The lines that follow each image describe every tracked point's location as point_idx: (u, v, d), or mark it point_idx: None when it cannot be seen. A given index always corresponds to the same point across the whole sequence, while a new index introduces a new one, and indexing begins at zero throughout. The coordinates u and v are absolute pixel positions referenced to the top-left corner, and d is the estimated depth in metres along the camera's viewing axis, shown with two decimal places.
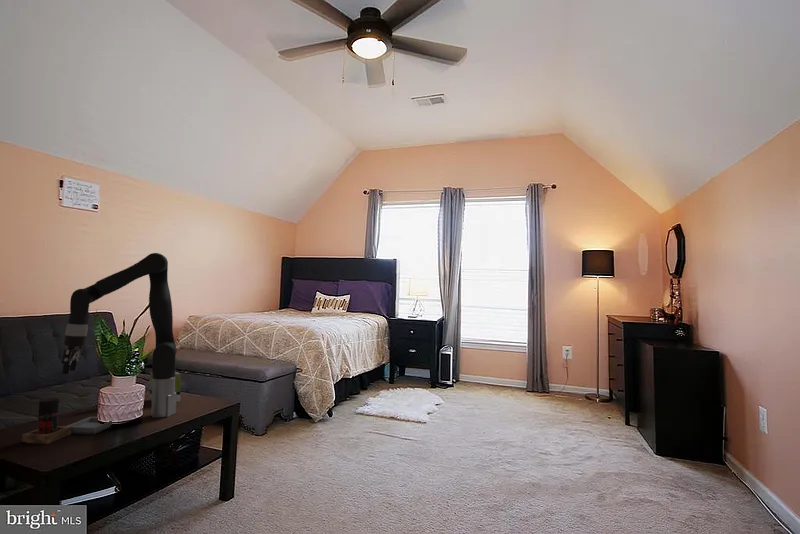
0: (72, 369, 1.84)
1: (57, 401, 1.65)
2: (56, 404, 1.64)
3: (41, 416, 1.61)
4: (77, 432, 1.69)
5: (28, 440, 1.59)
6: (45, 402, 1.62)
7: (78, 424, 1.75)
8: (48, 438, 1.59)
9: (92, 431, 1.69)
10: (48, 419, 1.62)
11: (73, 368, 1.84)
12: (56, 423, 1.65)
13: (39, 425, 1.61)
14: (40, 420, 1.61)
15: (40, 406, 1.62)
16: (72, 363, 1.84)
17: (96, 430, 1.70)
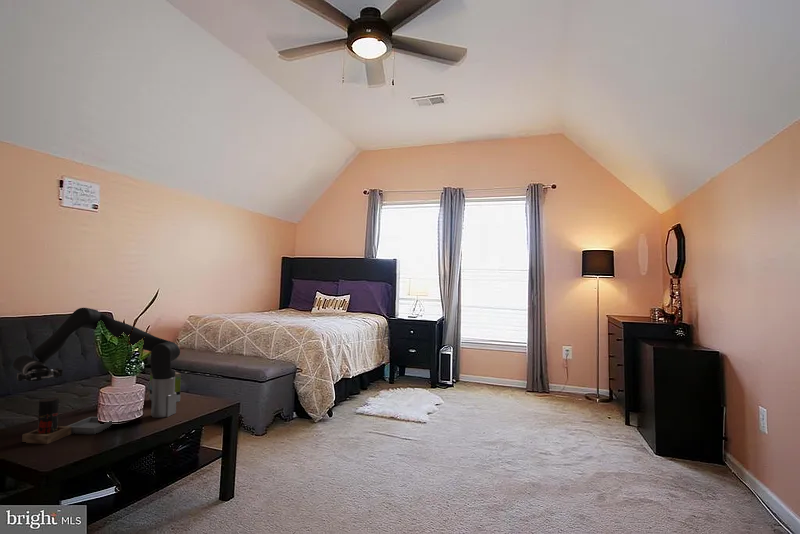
0: (55, 375, 1.75)
1: (57, 401, 1.65)
2: (56, 404, 1.64)
3: (41, 416, 1.61)
4: (77, 432, 1.69)
5: (28, 440, 1.59)
6: (45, 402, 1.62)
7: (78, 424, 1.75)
8: (48, 438, 1.59)
9: (92, 431, 1.69)
10: (48, 419, 1.62)
11: (55, 374, 1.76)
12: (56, 423, 1.65)
13: (39, 425, 1.61)
14: (40, 420, 1.61)
15: (40, 406, 1.62)
16: (54, 375, 1.77)
17: (96, 430, 1.70)
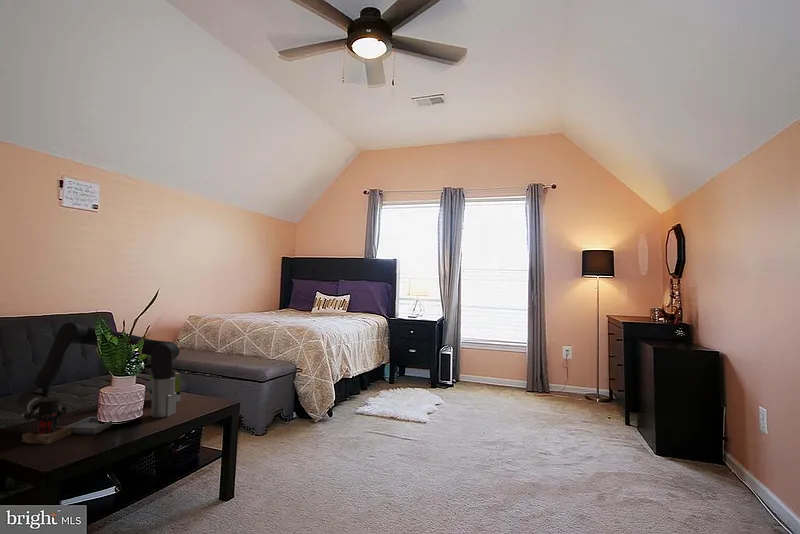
0: (59, 414, 1.65)
1: (57, 401, 1.65)
2: (56, 404, 1.64)
3: (41, 416, 1.61)
4: (77, 432, 1.69)
5: (28, 440, 1.59)
6: (45, 402, 1.62)
7: (78, 424, 1.75)
8: (48, 438, 1.59)
9: (92, 431, 1.69)
10: (48, 419, 1.62)
11: (58, 413, 1.66)
12: (56, 423, 1.65)
13: (39, 425, 1.61)
14: (40, 420, 1.61)
15: (40, 406, 1.62)
16: None
17: (96, 430, 1.70)
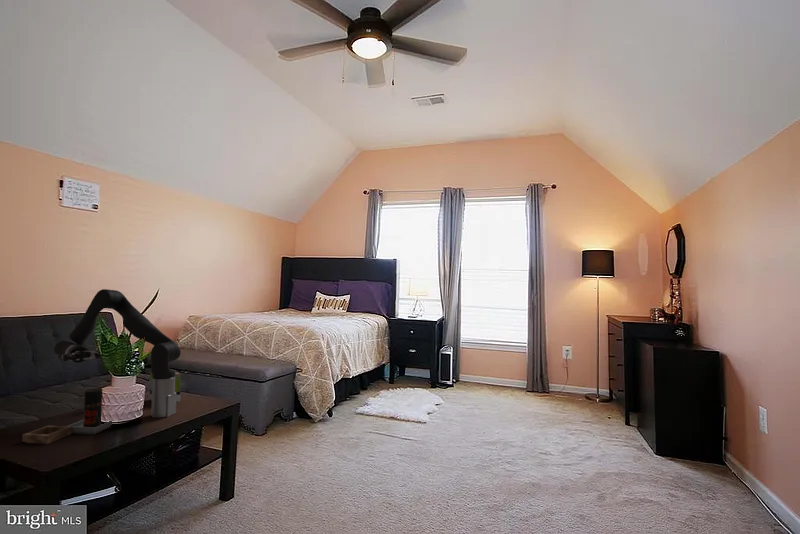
0: (97, 356, 1.87)
1: (101, 392, 1.77)
2: (100, 394, 1.76)
3: (87, 405, 1.73)
4: (77, 432, 1.69)
5: (28, 440, 1.59)
6: (91, 392, 1.74)
7: (78, 424, 1.75)
8: (48, 438, 1.59)
9: (92, 431, 1.69)
10: (93, 408, 1.74)
11: (97, 355, 1.88)
12: (100, 412, 1.77)
13: (85, 414, 1.73)
14: (86, 409, 1.73)
15: (86, 396, 1.74)
16: (95, 356, 1.89)
17: (96, 430, 1.70)
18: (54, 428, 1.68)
